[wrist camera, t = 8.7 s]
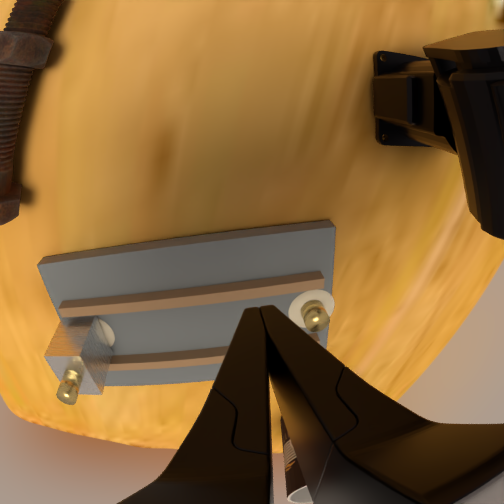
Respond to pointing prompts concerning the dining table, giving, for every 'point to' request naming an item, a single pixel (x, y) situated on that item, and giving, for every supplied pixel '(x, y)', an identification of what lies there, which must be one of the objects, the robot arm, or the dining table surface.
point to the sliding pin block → (79, 357)
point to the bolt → (19, 84)
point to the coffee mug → (293, 472)
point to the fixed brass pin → (314, 316)
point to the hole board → (191, 294)
